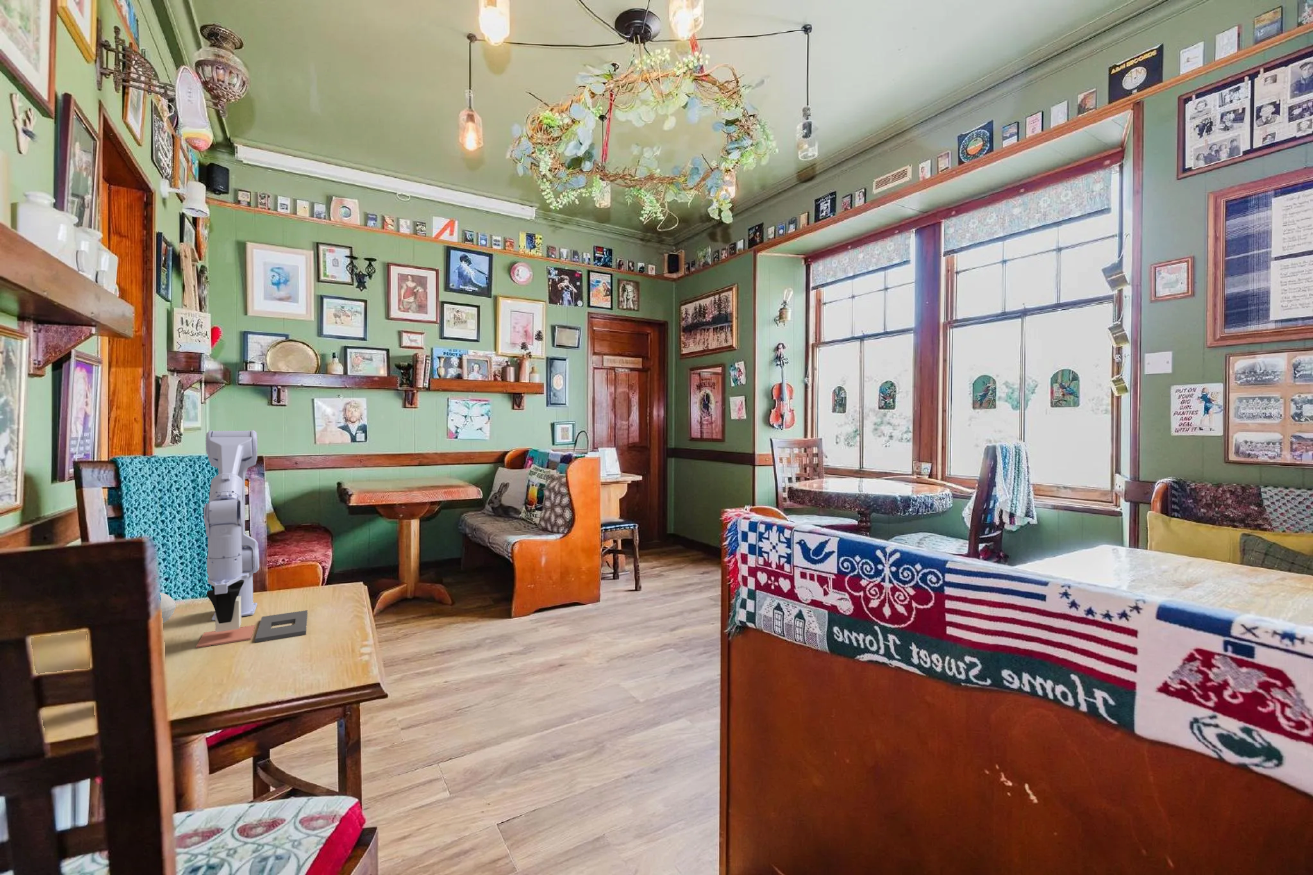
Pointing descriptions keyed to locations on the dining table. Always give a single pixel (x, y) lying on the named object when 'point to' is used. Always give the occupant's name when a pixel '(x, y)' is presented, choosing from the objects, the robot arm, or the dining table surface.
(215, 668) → the dining table surface
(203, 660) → the dining table surface
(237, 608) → the plug
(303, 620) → the board
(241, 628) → the mat
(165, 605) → the lollipop
